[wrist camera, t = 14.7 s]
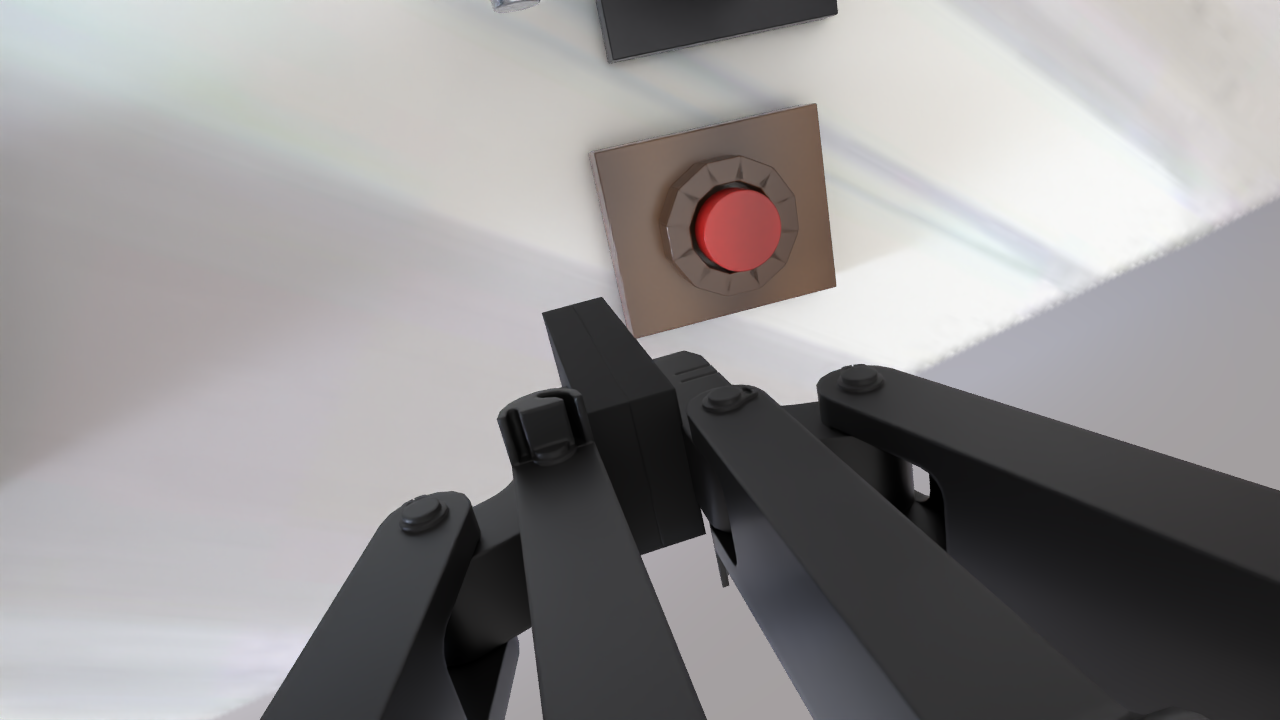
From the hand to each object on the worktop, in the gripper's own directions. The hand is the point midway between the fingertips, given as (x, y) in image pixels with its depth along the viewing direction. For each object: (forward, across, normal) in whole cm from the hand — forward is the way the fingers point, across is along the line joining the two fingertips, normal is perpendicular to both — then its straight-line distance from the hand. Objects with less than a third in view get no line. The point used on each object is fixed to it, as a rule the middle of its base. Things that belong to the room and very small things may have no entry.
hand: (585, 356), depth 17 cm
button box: (+21, +10, -2) cm, 24 cm away
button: (+18, +10, -1) cm, 20 cm away
